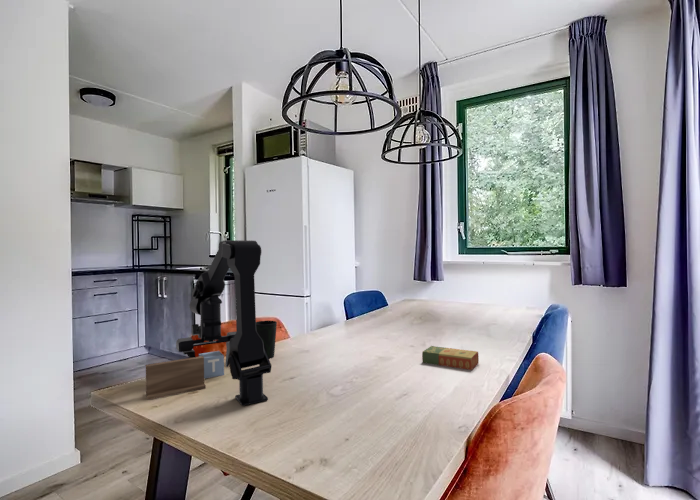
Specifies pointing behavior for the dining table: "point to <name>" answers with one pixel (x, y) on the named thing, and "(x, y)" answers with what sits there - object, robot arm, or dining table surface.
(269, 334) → the cup
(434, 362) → the carton
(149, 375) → the wooden l bracket
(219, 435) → the dining table surface
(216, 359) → the letter cube
